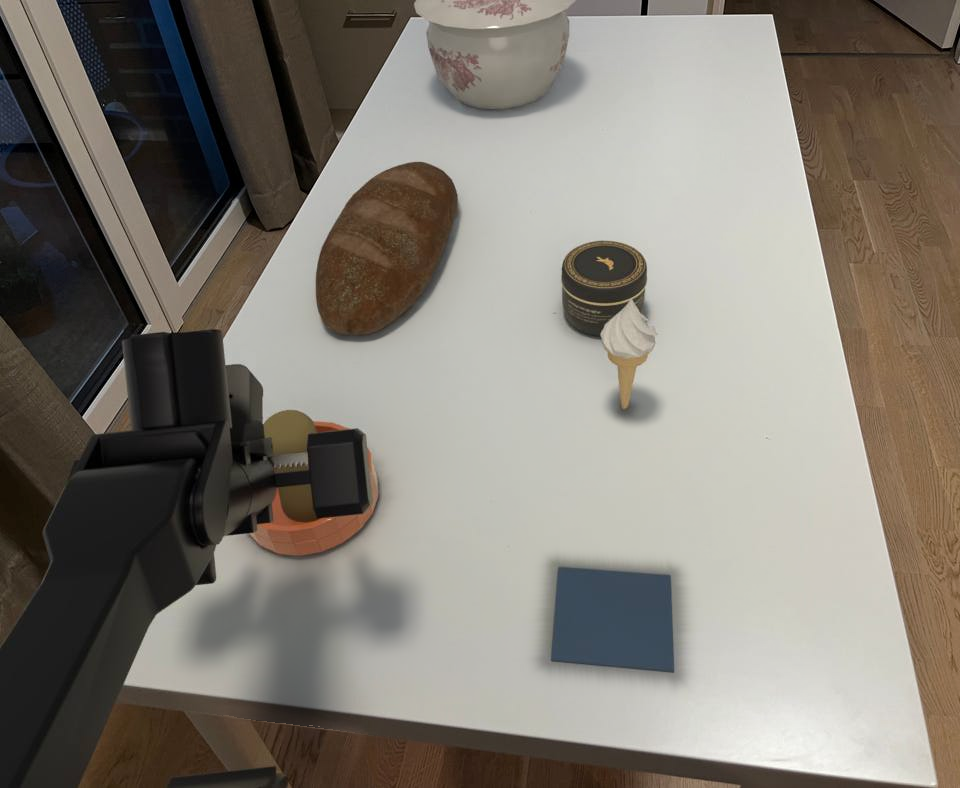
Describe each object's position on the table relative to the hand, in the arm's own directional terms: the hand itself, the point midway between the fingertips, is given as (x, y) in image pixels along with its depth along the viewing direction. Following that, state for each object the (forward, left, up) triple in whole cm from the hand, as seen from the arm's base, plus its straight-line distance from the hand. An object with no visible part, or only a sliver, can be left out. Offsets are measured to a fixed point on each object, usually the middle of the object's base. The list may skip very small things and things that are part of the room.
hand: (271, 472), depth 67 cm
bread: (+45, +19, -13) cm, 51 cm away
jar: (+44, -12, -13) cm, 48 cm away
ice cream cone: (+30, -20, -13) cm, 39 cm away
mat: (+6, -28, -13) cm, 32 cm away
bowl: (+6, +4, -13) cm, 14 cm away
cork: (+6, +4, -12) cm, 14 cm away
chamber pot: (+96, +28, -13) cm, 101 cm away
